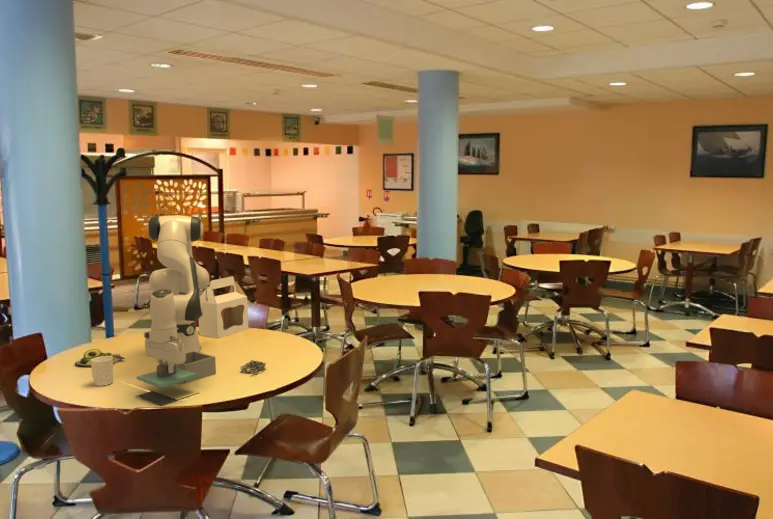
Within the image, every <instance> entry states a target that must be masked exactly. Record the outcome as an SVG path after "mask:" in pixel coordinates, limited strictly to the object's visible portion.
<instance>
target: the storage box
mask: <svg viewBox="0 0 773 519" xmlns="http://www.w3.org/2000/svg"><path fill="white" fill-rule="evenodd" d="M185 355H186V361H185V362H184V363H181V364H176V368H179V369H182V370H186V371H189V372H193V373H196V374H197V376H196V377H192V378H190V380H188V381H184V382H183V383H185V384H188V383H189V384H190V383H191V382H195V381H198V380H201V379H204V378H208V377H210V376H214V375H216V374H217V369H216V368H217V367H216V366H217V364H216V356H215V355H210V354H207V353H203V352H200V351H199V352H196V351H192V352H188V353H185ZM165 363H168V362H167V361H164V364H165Z"/></svg>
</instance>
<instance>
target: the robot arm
mask: <svg viewBox="0 0 773 519" xmlns="http://www.w3.org/2000/svg"><path fill="white" fill-rule="evenodd" d="M146 231H147V234H148V238H150V239H151V240H152V241H155V242H157V243H156V247H157V248H156V255H157V256H156V257H157V260H158V261H159V262H160V264H162V265H163V266H164V267H165V268H161V269H156V270H154V271H152V273H151V274H150V275H149V279H148V283H149V284H148V285H149V288H150V289H151V290H152V293H151V295H150V301H149V303H150V304H149V316H150V319H151V325H150V330H148V331H145V332H143V338H144V348H145V354H146V356H147V357H150V358H153V359H156V362H157V363H158V365H161V364H164V361H167V362H168V364H169V366H168V368H167V373H173V367H174V365H175V364H181V363H184V362H185V361H186V355H185V353H188V352H192V351H196V352H200V351H201V349H202V348H203V347H202V345H200V339H199V332H198V330H196V329H197V323H196V322H197V321H199V318H200V317H201V316H202V315H203V311H204V306H203V301H202V298H201V295H202V294H201V290H205V289H206V288H207V287H209V285H208V284H209V282H210V274H209V272H208V270H207V269H206V268H204V267H203V266H201V265H199V264H198V263H197V262H196V260H195V259H194V255H193V249H192V248H193V245H192V242H198V241H199V240H200V239H201V238H202V236H203V233H204V224H203V222H202V219H201V218H200V217H197V216H193V215H192V216H189V215H179V214H175V215H161V216H160V215H153V216H150V218H149V219H148V222H147V225H146ZM183 292H187V294H179V293H183Z"/></svg>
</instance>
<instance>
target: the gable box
mask: <svg viewBox="0 0 773 519" xmlns="http://www.w3.org/2000/svg"><path fill="white" fill-rule="evenodd" d="M229 286H230V289H229V292H228V293H224V294H221V295H215V293H214V290H216V289H220V288H225V287H229ZM201 298H202V301H203V306H204V311H203V315H202V316H201V317H200V318H199V319H198V331H199V332H198V336H201V337H207V338H208V337H209V338H214V339H222V338H224V337H228V336H230V335H233V334H237V333H240V332H244V331H247V330H249V314H248V313H249V312H248V311H249V310H248V308H249V307H248V296H247V294H246V293H245V291H244V290H243V288H242V287H241V285H240V284H239V283H238V281H237V280H236V281H235V278H234V276H233V275H231V276H227V277H221V278H217V279H213V280H209V284H208V286H207V287H206V288H205V289H204V291H203V292H202V294H201ZM223 310H224V311H223ZM222 311H223V312H224V313H223V316H224V317H222ZM223 318H224V320H223Z"/></svg>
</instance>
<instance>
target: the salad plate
mask: <svg viewBox="0 0 773 519" xmlns="http://www.w3.org/2000/svg"><path fill="white" fill-rule="evenodd" d="M82 356H83V357H82V358H79V359H78V360H76V361H75V362H74V365H76V366H77V365H78V366H77V367H79V366H91V359H93V358H96V357H100V356H111V357H113V363H114V364H116V363H117V361H118V362H119V361H122V360H125V359H126V358H125V357H123V356H122V355H121V354H119V353H112V352H102V351H101V350H100V349H97V348H92V349H88V350H87V351H85V352H84V353H83V355H82ZM115 362H116V363H115Z"/></svg>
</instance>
